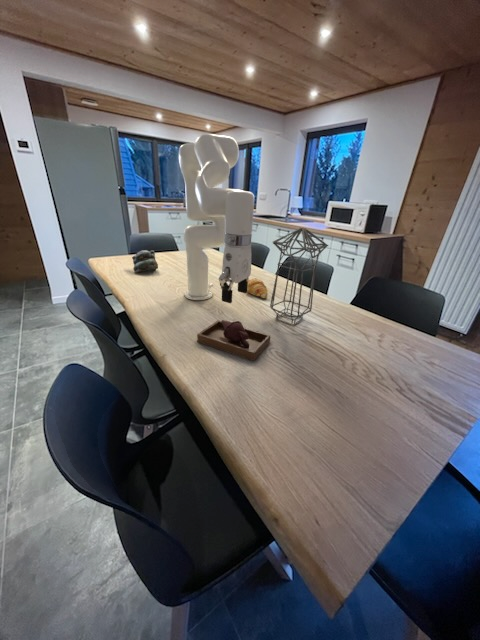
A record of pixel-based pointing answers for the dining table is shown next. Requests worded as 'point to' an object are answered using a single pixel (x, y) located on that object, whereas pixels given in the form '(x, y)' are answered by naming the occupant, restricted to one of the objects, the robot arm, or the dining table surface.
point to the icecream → (235, 332)
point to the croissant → (257, 288)
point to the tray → (216, 339)
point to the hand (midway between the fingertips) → (234, 296)
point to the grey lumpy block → (144, 261)
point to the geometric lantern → (276, 243)
